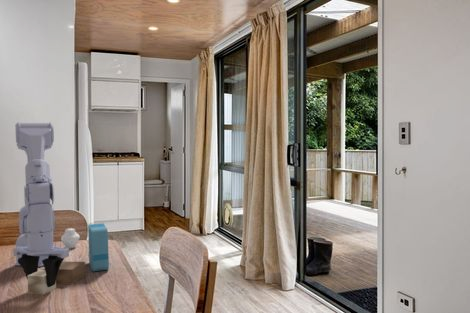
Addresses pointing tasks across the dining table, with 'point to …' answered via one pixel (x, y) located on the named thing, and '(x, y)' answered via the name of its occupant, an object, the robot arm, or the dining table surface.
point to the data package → (98, 247)
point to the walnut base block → (70, 272)
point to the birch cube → (39, 283)
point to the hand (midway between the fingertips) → (42, 284)
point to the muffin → (70, 238)
